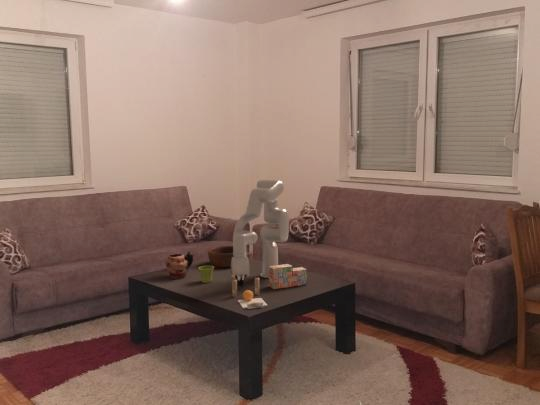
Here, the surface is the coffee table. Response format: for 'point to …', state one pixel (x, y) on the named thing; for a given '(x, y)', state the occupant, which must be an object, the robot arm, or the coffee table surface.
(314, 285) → the coffee table surface
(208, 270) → the plant pot
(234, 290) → the post
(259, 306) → the stopper wall
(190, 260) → the controller
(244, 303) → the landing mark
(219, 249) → the wooden bowl
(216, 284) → the coffee table surface
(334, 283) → the coffee table surface
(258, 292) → the post
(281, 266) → the stack of blocks
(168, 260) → the decorative planter
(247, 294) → the ball
